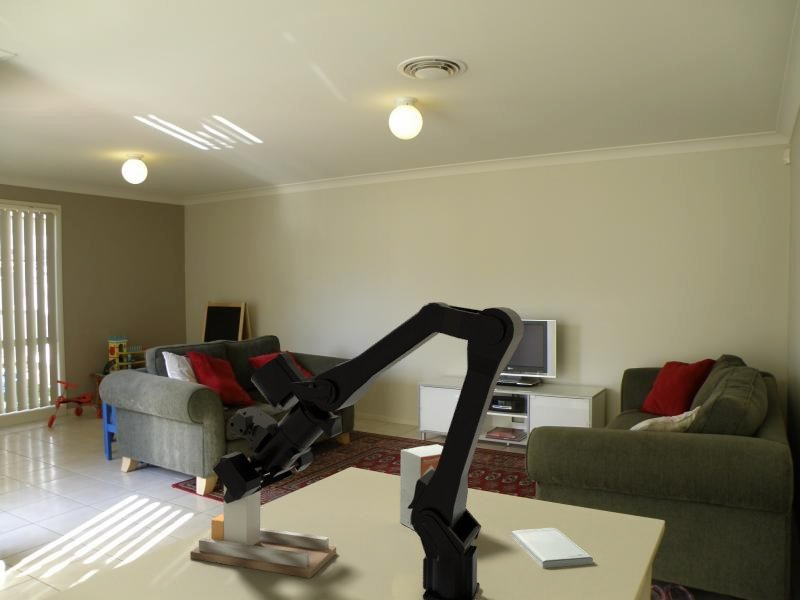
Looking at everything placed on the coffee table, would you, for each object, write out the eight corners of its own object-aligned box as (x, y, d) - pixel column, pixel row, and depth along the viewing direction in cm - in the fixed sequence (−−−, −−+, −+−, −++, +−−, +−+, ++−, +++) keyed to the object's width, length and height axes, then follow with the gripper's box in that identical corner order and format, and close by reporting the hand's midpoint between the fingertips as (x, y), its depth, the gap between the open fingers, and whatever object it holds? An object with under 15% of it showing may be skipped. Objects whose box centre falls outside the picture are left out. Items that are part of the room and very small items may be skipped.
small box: (419, 534, 106) (420, 456, 105) (398, 522, 111) (399, 448, 111) (457, 525, 110) (458, 450, 110) (435, 514, 115) (436, 443, 115)
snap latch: (238, 537, 100) (238, 512, 100) (222, 547, 96) (222, 521, 96) (227, 535, 101) (227, 510, 101) (211, 545, 97) (211, 519, 97)
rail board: (336, 553, 97) (336, 536, 97) (310, 578, 89) (310, 559, 89) (224, 536, 104) (224, 520, 104) (190, 558, 95) (190, 541, 95)
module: (260, 540, 99) (260, 476, 99) (246, 550, 95) (246, 483, 95) (237, 537, 100) (238, 474, 100) (223, 546, 96) (223, 481, 96)
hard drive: (593, 556, 95) (556, 526, 107) (542, 560, 93) (510, 529, 105) (593, 567, 95) (556, 536, 107) (542, 571, 93) (510, 539, 105)
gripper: (297, 383, 104) (242, 443, 109) (224, 400, 87) (162, 471, 91) (338, 435, 101) (280, 495, 106) (271, 463, 84) (205, 533, 88)
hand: (234, 496), depth 98 cm, fingers closed on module, 4 cm apart
